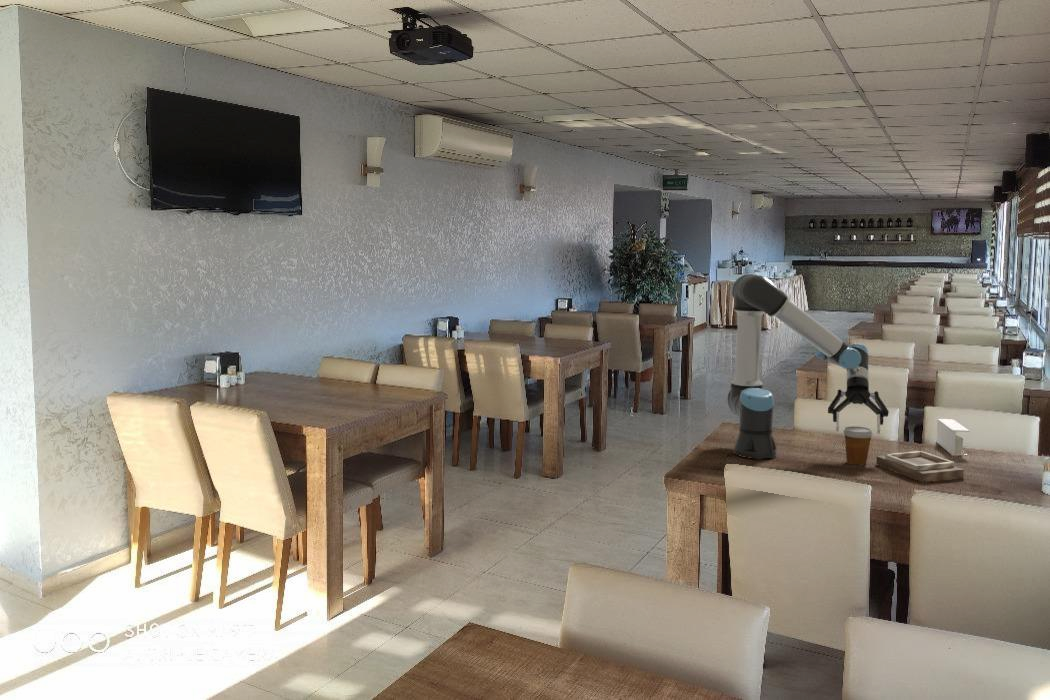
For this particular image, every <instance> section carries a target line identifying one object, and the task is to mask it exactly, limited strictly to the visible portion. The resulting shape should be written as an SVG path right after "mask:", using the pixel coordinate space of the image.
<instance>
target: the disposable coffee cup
mask: <svg viewBox="0 0 1050 700" xmlns="http://www.w3.org/2000/svg"><path fill="white" fill-rule="evenodd" d="M843 435H844V443H845V444H844V445H845V453H846V454H845V455H846V463H848V464H850V465H854V464H856V465H857V464H858V465H857V466H863V465H862V464H864V465H866V464H867V462H868V461H867V460H868V456H869V450H870V446H871V445H870V444H871V440H872V437H873V435H874V434H873V432H872V429H871V428H869V427H863V426H854V425H853V426H846V427H845V428H844V430H843ZM856 465H855V466H856Z"/></svg>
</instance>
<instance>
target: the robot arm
mask: <svg viewBox="0 0 1050 700" xmlns="http://www.w3.org/2000/svg"><path fill="white" fill-rule="evenodd" d="M731 295H732V298H733V299H734V305H733V306H734V307H733V311H734V312H735V313H736V314H737V332H736V353H735V354H736V355H735V357H736V358H735V374H734V375H735V376H734V378H733V379H732V380H731V381H730V390H729V391H728V393H727V396H726V402H727V406H728V407H729V409H730V411H731V412H732V413H733V414H734V415H736V416H737V417H739V422H738V423H739V428H738V429H739V430H738V431H739V432H738V434H737V437H736V440H735V443H734V446H733V454H734V453H735V454H738V455H741V456H745V457H751V458H771V459H773V458H776V457H777V454H778V451H777V446H776V443H775V439H774V437H773V423H774V406H775V401H774V395H773V393H772V392H771V391H769V390H767V389H764V388H763V387H764V386H763V381H761V379H760V364H761V363H760V361H761V360H760V359H761V358H760V357H761V341H762V339H761V337H762V321H763V320H762V316H763V315H764V314H767V316H769V317H775V318H777V319H778V320H779V321H780V322H782V323H783V324H784V325H785V326H787V327H789V329H790V330H792V331H793V332H795V333H796V334H797V335H798V336H799V337H801V338H803V339H804V340H805V341H807V342H808V343H810V344H811V345H812V346H813V347H814V348H815V350H814V351H815V352H814V354H815V357H816V358H817V359H820V360H821V361H825V362H829V363H831V364H832V365H836V366H838V367H840V368H842V369H845V370H846V390H845V391H842V389H837V394H836V396H835V397H834V399H833V400H832V402H831V403H830V404H829V406H828V408H827V413H828V414H831V415H832V422H833V423H835V424H836V425H835V431H836V432H839V430H840V412H841V411H842V410H844V409H845V408H846V407H847V406H848V405H850V404H853V405H856V404H859V405H863V404H864V405H865V407H868V408H869V409H870V411H872V412H873V413H874V414H875V415H877V416H876V431H877V432H876V434H877V435H879V434H880V433H881V426H883V425H884V417H886V418H887V417H889V413H890V412H889V409H888V408H887V407H886V405H885V404H884V402H883V401H882V399H881V397H880V394H879V392H878V391H877V390H875V391H874V392H870V387H869V351H868V348H867V346H866V345H864V344H862V343H852V344H850V345H848V344H847V343H846V342H844V341H843V340H842V339H841V338H840V337H838V336H836V335H835V334H834V333H833V332H832V331H830V330H829V329H827V328H826V327H825V326H824V325H822V324H821V323H819V321H817V320H815V318H813V317H812V316H811V315H809V314H808V313H807V312H805V311H804V310H803V309H802V308H800V307H799V306H797V305H796V304H795V303H794V302H793V301H791V300H790V299H789V295H788V294H787V293H785V291H783V290H782V289H781V288H779V286H777V285H776V284H775V283H774V282H773V281H772V280H770V279H769V278H768V277H766V276H763V275H759V274H756V273H755V274H754V273H747V274H743V275H741V276H739V277H738V278H736V279H735V280H734V282H733V284H732V287H731ZM843 397H845V399H843ZM870 397H871V398H872V399H873V400H874V401H875V403H876V404H875V403H874V402H873V401H872V400H871V398H870ZM841 398H842V399H843V400H842V402H841V403H839V402H840V400H841ZM838 403H839V404H838ZM837 404H838V405H837ZM735 454H734V455H735Z"/></svg>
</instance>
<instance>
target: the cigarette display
mask: <svg viewBox="0 0 1050 700" xmlns="http://www.w3.org/2000/svg"><path fill="white" fill-rule="evenodd" d="M957 432H959V433H960V432H965V433H966V432H967V433H969V432H970V430H969V429H968V428H966V427H965V426H963V425H962V424H961V423H959V422H957V421H956V420H955V419H949V418H937V422H936V437H935V438H936V439H935V443H936V444H938V445H940V446H941V447H942V448H943V449H944V450H945V451H946V452H948V454H950V455H951V454H962V451H963V446H964V438H963V437H962V436H959V435H957ZM964 455H968V454H967V453H966V454H964Z"/></svg>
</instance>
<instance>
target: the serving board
mask: <svg viewBox="0 0 1050 700" xmlns="http://www.w3.org/2000/svg"><path fill="white" fill-rule="evenodd" d="M876 464H878V465H877V466H879V465H881V466H883V467H882V468H884V467H885V468H884V469H887V468H888V469H887V470H889V469H891V470H890V471H892V470H893V471H892V472H894V471H896V472H895V473H897V472H898V473H897V474H899V473H901V474H900V475H902V474H903V475H902V476H904V475H905V477H907V476H908V477H907V478H909V477H910V479H912V478H913V479H912V480H914V481H917V480H918V481H917V482H919V483H922V482H923V483H931V482H930V481H933V482H940V481H941V480H943V481H950V480H952V479H953V480H959V479H960V480H962V479H964V474H965V470H964V468H960V467H957V466H955V461H953V460H950V459H947V458H944V457H941V456H938V455H935V454H933V453H929V452H926V451H923V450H922V451H920V450H915V451H907V452H906V451H905V452H894V453H887V454H885V455H877V456H876ZM876 464H875V465H876ZM881 466H880V467H881ZM941 482H942V481H941Z"/></svg>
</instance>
